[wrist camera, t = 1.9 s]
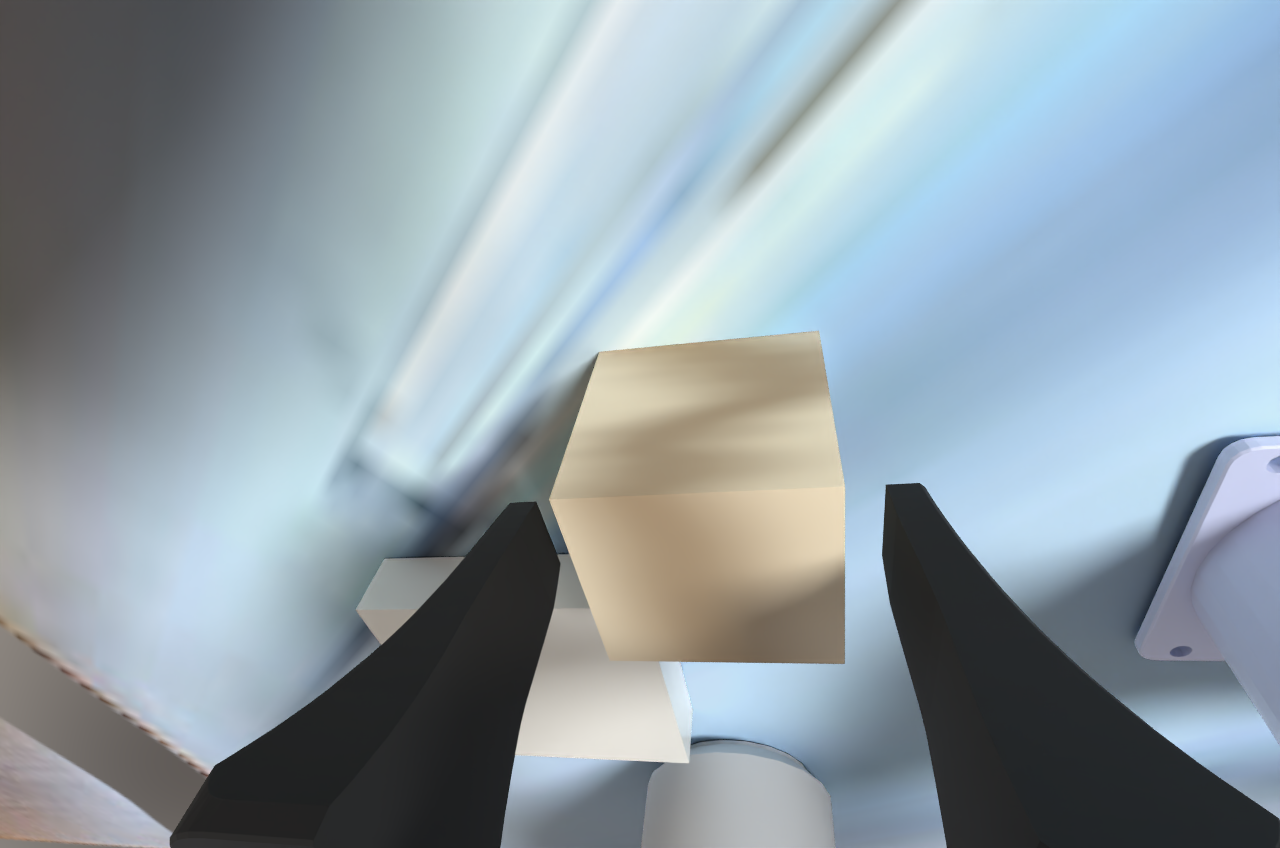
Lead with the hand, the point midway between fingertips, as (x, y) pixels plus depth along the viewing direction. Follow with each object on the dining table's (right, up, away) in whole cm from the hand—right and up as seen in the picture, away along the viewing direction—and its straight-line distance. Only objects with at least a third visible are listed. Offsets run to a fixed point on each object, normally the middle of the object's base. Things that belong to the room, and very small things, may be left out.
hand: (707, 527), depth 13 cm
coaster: (-5, -5, +9) cm, 12 cm away
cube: (+1, +2, +3) cm, 4 cm away
